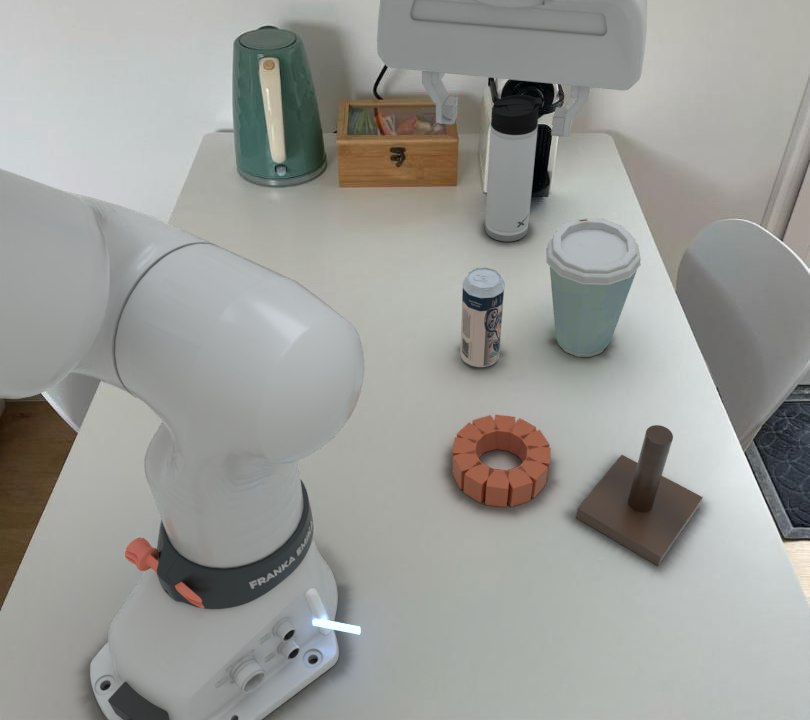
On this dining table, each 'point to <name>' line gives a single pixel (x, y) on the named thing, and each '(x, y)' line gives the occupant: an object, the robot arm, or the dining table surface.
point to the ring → (496, 482)
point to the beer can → (481, 317)
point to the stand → (641, 501)
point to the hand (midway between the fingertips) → (503, 127)
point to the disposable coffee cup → (590, 282)
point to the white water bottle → (511, 166)
